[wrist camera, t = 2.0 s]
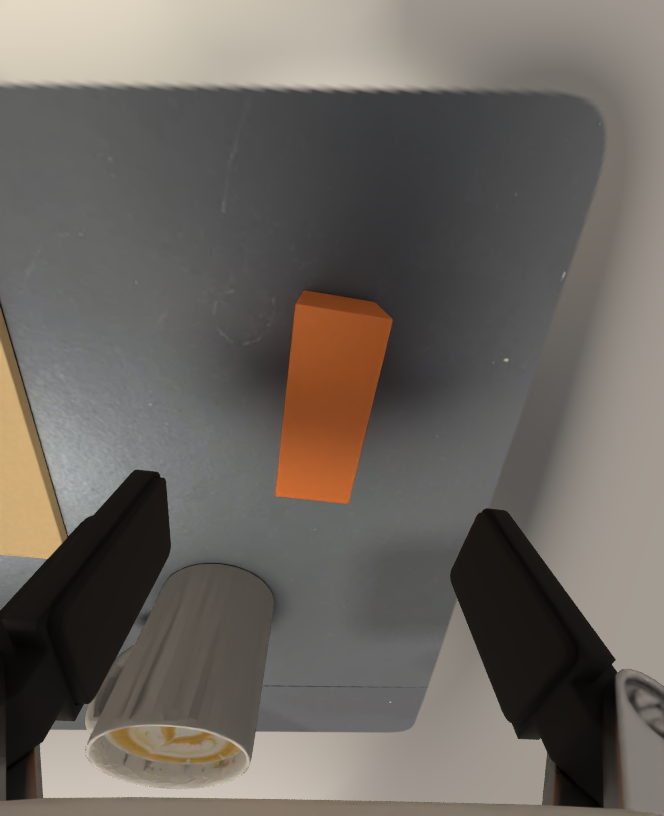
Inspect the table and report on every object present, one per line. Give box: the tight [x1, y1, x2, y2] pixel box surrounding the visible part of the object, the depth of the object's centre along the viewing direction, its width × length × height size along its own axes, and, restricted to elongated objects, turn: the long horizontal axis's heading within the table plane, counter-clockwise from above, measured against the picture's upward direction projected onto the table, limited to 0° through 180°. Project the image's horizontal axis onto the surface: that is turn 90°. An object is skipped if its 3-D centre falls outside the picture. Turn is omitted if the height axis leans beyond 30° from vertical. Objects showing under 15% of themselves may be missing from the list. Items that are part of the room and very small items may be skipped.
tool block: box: [275, 290, 393, 504], centre depth 17 cm, size 10×4×5 cm, turn 171°
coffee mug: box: [85, 564, 274, 789], centre depth 24 cm, size 13×10×10 cm
